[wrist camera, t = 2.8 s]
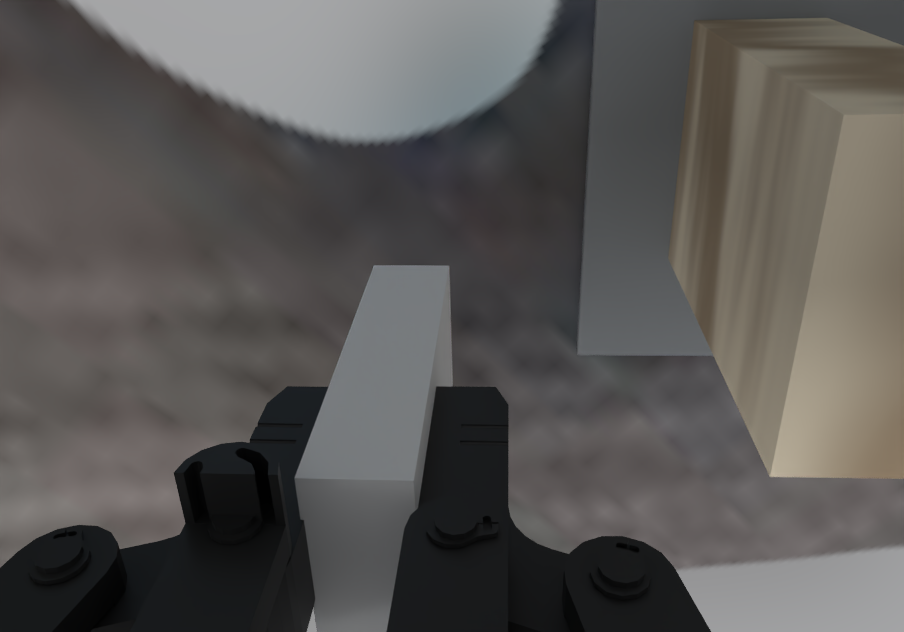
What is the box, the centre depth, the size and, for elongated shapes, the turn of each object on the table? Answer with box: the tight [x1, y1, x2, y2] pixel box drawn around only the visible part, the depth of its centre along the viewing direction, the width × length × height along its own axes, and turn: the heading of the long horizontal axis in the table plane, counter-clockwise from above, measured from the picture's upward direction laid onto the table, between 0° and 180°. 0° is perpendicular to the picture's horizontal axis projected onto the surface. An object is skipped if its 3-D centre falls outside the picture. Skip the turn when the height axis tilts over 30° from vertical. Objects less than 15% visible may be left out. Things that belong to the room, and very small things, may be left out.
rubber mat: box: [577, 0, 904, 356], centre depth 26 cm, size 20×16×1 cm
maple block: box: [668, 18, 904, 479], centre depth 21 cm, size 4×8×12 cm, turn 1°
